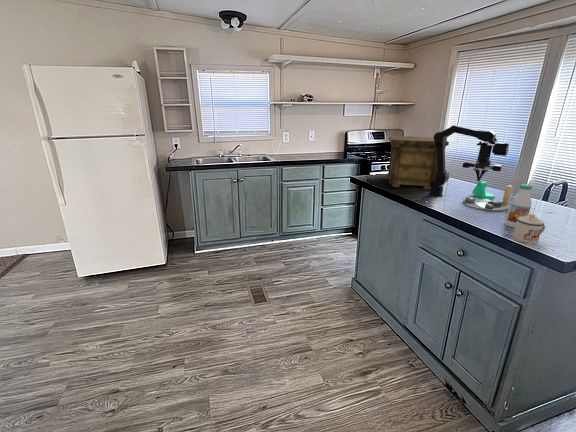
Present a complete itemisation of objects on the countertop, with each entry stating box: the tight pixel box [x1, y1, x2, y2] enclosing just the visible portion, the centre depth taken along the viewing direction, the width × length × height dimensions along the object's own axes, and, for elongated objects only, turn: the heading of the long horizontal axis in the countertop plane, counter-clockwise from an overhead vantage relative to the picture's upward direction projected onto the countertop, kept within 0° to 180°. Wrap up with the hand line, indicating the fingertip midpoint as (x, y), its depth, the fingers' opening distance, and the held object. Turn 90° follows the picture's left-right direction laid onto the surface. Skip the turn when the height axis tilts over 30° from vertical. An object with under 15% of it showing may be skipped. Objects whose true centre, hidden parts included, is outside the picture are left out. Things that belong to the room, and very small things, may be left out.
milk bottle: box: [505, 183, 533, 229], centre depth 140 cm, size 8×8×20 cm
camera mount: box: [471, 181, 496, 200], centre depth 189 cm, size 12×8×10 cm, turn 179°
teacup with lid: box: [512, 213, 546, 244], centre depth 126 cm, size 12×9×12 cm
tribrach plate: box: [461, 196, 508, 212], centre depth 174 cm, size 22×22×3 cm
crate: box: [387, 135, 450, 190], centre depth 218 cm, size 35×35×33 cm
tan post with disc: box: [483, 184, 513, 207], centre depth 167 cm, size 16×7×11 cm, turn 103°
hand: (478, 181), depth 175 cm, fingers closed
